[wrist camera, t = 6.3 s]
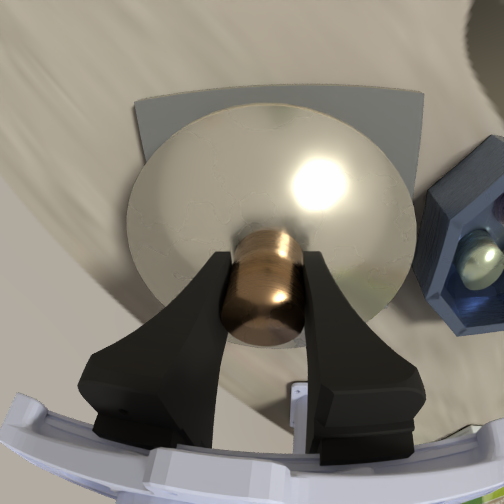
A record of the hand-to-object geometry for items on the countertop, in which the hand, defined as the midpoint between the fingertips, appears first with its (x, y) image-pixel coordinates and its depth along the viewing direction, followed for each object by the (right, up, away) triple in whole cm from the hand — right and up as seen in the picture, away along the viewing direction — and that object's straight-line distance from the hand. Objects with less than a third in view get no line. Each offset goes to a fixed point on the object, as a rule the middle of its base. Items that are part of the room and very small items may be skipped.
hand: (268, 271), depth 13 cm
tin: (+14, +2, +3) cm, 15 cm away
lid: (0, +1, +1) cm, 1 cm away
